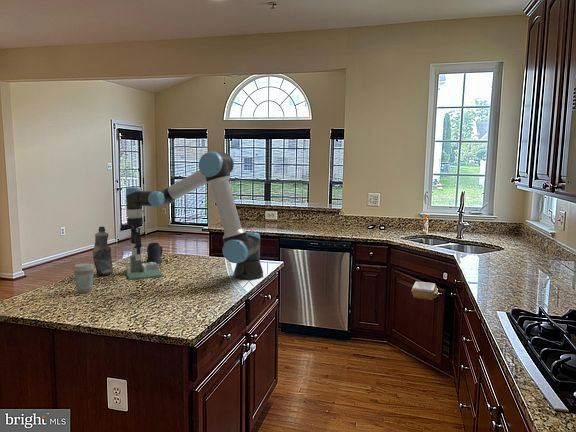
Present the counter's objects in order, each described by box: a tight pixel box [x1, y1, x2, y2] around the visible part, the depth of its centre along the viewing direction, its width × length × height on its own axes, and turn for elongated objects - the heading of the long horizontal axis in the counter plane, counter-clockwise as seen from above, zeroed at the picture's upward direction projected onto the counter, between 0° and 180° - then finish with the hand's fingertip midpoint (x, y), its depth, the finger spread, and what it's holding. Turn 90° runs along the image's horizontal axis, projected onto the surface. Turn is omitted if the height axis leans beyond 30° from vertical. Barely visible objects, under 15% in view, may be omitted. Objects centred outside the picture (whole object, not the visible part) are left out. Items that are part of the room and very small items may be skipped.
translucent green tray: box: [124, 262, 164, 281], centre depth 218 cm, size 20×16×6 cm
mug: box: [145, 242, 163, 265], centre depth 246 cm, size 12×9×11 cm
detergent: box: [92, 225, 114, 276], centre depth 214 cm, size 13×7×25 cm, turn 164°
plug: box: [129, 254, 142, 272], centre depth 219 cm, size 4×5×8 cm
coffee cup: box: [72, 262, 96, 294], centre depth 186 cm, size 8×8×12 cm
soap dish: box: [411, 281, 437, 301], centre depth 187 cm, size 12×10×5 cm
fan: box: [143, 262, 159, 270], centre depth 227 cm, size 6×6×3 cm
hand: (136, 258), depth 219 cm, fingers open, 13 cm apart
